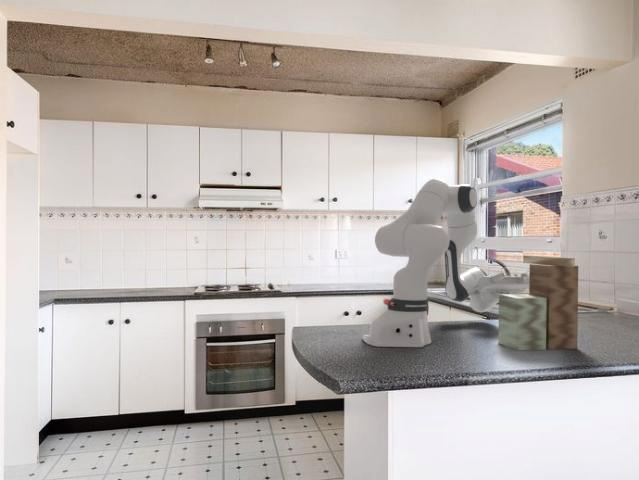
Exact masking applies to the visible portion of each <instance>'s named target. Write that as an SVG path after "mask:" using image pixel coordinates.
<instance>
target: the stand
mask: <svg viewBox="0 0 639 480" xmlns="http://www.w3.org/2000/svg"><path fill="white" fill-rule="evenodd" d="M528 289H529V294H527V293H526V294H525V293H520V294H499V303H498V333H497V334H498V338H497V340H498V341H497V342H498V344H499V345H501V346H504V347H507V348H509V349H512V350H514V351H537V350H538V351H542V350H543V351H545V350H571V349H572V350H573V349H574V350H575V349H578V325H579V324H578V323H579V322H578V321H579V319H578V318H579V316H578V315H579V309H578V308H579V265H575V267H570V266H555V265H543V264H531V263H529V288H528Z"/></svg>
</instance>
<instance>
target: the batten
mask: <svg viewBox="0 0 639 480" xmlns="http://www.w3.org/2000/svg"><path fill="white" fill-rule="evenodd" d="M522 258H523V259H522V262H523V264H543V265H555V266H570V267H575V266H576V258H575V257H565V256H564V257H560V256H544V255H542V256H541V255H523V256H522Z"/></svg>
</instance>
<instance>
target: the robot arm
mask: <svg viewBox="0 0 639 480" xmlns="http://www.w3.org/2000/svg"><path fill="white" fill-rule="evenodd" d="M477 203H478V193H477V191H476V189H475V188H474V187H473V186H472V184H452V185H451V184H450V185H448V184H447V182H445V180H443V179H440V178H432V179H429V180H428V181H427V182H425V183H424V184H423V186H422V187H421V188H420V190H419V191H418V192H417V194H416V196H415V197H414V199H413V201H412V203H411V204H410V205H409V207H408V209H407V210H406V211H405V212H403V214H402V215H400V216H399V217H397V218H396V219H395V220H393V221H392V222H390V223H388V224H386V225H384V226H380V228H378V230H377V232H376V233H375V237H374V242H375V245H374V246H375V247H376V249H377V251H378V253H380V254H383V255H386V256H391V257H400V258H402V257H403V258H405V257H406V258H408V261H407V263H406V266H405V267H403V268H401V269H398V270H397V271H396V272H395V274H394V276H393V289H392V290H393V297H391V299H388V298H383V304H384V305H386V306H387V309H386V310H385V311H383V313H381V314H380V315H378V316H377V317H376V318H374V319H373V320H372V322H371V324H370V328H369V334H364V335H363V337H362V340H363V342H365V343H366V344H367V345H370V346H372V347H373V346H374V347H379V348H380V347H383V348H385V347H386V348H387V347H388V348H389V347H391V348H392V347H393V348H423V347H425V346H427V345H430V344H431V343H432V339H431V334H430V329H429V328H430V327H429V319H428V316H429V309H430V307H429V299H428V284H429V283H428V282H429V275H430V272H431V269H432V268H433V266H434V264H435V263H436V261H437V260H438V259H439V258H441V257H442V256H443V255H444V266H445V284H444V290H445V291H444V292H445V295H446V297H448V298H449V299H450V300H452V301H454V302H456V303H457V302H458V303H462V302H464V301H465V300H467V299H468V298H469V306H470V308H471V309H472V310H474V311H475V312H478V313H485V312H488V311H489V310H491V309H493V308H494V307H495V306H497V304H499V294H523V293H524V292H526V291H527V290H528V289H529V278H530V276H529V275H528V274H527V273H526V272H522V273H521V274H520V276H519V275H517V276H514V275H513V276H511V275H510V276H507V275H506V276H505V275H504V272H499V273H498V274H495V275H491V276H490V275H488V274H487V273H486V272H485V271H484V270H483V269H481V268H478V267H475V266H472V267H471V268H469V269H468V270H465V271H463V272H462V273H461V262H460V260H461V257H462V254H463V253H464V251H466V248H468V247H469V246H470V245H471V244H472V243H473V241H474V240H475V239H476V237H477V234H478V226H477V225H478V224H477V220H476V215H475V213H474V209H476V206H477V205H478V204H477ZM443 215H445V218H446V226H447V230H446V228H445V227H444V226H443V225H442V226H441V225H438V224H439V221H440V220H441V217H442V216H443Z"/></svg>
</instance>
